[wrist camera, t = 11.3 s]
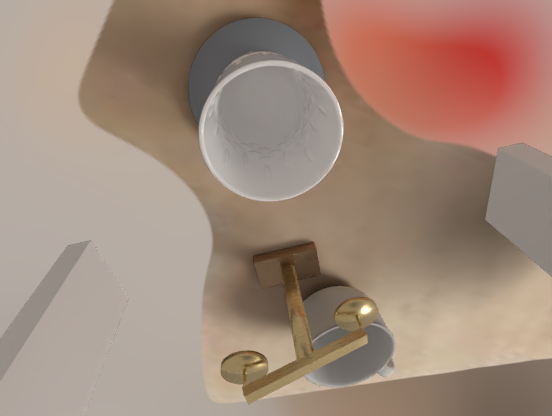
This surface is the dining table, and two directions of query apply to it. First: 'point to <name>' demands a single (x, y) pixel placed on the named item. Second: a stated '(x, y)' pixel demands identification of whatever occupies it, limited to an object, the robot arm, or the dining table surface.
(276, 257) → the balance
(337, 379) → the teacup
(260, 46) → the dish
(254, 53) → the white cup
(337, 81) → the dining table surface
